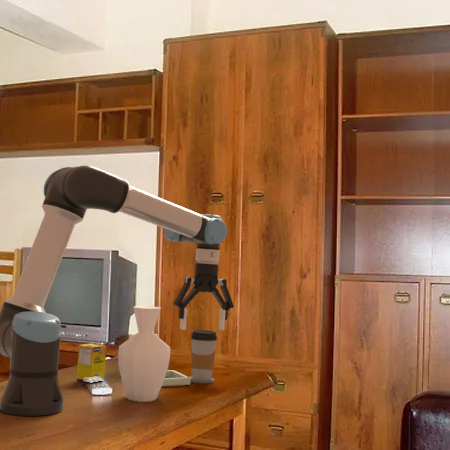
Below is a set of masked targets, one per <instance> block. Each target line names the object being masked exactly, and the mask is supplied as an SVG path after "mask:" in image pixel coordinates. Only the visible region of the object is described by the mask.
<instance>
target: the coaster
mask: <svg viewBox="0 0 450 450" xmlns="http://www.w3.org/2000/svg"><path fill="white" fill-rule="evenodd" d="M188 377H189V378H190V383H192V382H193V384H204V385H205V384H212V383H215V378H214V377H212V378H211V380H210V381H196V380H193V379H192V375H190V376H188Z"/></svg>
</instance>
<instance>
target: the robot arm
mask: <svg viewBox="0 0 450 450" xmlns="http://www.w3.org/2000/svg"><path fill="white" fill-rule="evenodd" d="M43 195H44V200H43V202H42V204H41V208H42V210H43V212H44V216H43V218H42V221H41V222H40V226H39V229H38V231H37V234H36V236H35V238H34V241H33V243H32V246H31V249H30V251H29V254H28V255H27V256H28V257H27V259H26V262H25V264H24V266H23V269H22V272H21V274H20V277H19V279H18V282H17V283H16V286H15V289H14V292H13V294H12V296H11V297H9V298H7V299H5V300H4V302H3V304H2V306H1V309H0V355H1V356H3V357H6V358H9V359H10V360H9V361H10V363H9V378H8V380H7V382H6V385H5V387H4V390H3V392H2V395H1V398H0V411H1V412H2V413H5V414H8V415H15V416H23V417H26V416H27V417H32V416H33V417H35V416H36V417H38V416H47V415H53V414H54V415H55V414H57V413H60V412H62V411H63V409H64V397H63V395H62V394H63V393H62V390H61V385H60V382H59V379H58V378H59V365H60V364H59V362H60V351H61V350H60V348H61V337H62V328H61V327H62V325H61V320H60V318H59V317H57V316H56V315H54V314H52V313H47V312H46V309H45V304H46V301H47V299H48V295H49V294H50V291H51V289H52V285H53V283H54V281H55V278H56V275H57V272H58V270H59V267H60V265H61V263H62V260H63V256H64V255H65V251H66V249H67V246H68V243H69V241H70V239H71V236H72V234H73V231H74V228H75V225H77V224H79V223H82V222H83V220H84V217H85V216H86V212H87V210H88V209H89V210H90V209H91V210H92V209H93V210H102V211H105V212H108V213H111V214H118V213H119V212H120V213H123V214H124V215H125V214H126V215H128V216H131V217H133V218H136V219H139V220H141V221H143V222H147V223H149V224H153V225H154V226H157V227H161V228H163V234H164V237H165V239H166V240H167V241H169V242H175V243H187V244H188V243H189V244H190V243H191V244H196V248H195V249H196V250H195V252H196V253H195V261H196V262H195V264H194V277H189V276H185V278H184V282H183V284H182V287H181V288H180V291H179V292H178V294H177V296H176V298H175V299H174V302H173V303H172V304H173V306H175V307H177V308H178V317H177V318H178V319H180V322H179V329H180V330H183V331H186V330H187V318H188V308H186V307H187V306H188V305H189V304H190V303H191V302H192V300H193V299H194V298H195V297H196V295H198V294H199V293H210V294H212V295H213V296H214V299H216V300H215V301H217V303H218V304H219V306H220V307H221V308H220V309H219V315H218V327H217V329H218V330H219V331H225V324H226V323H225V322H226V320H228V312H229V310H230V309H234V307H235V306H234V302H233V299H232V297H231V294H230V291H229V288H228V286H227V279H225V278H220V279H219V278H218V276H219V268H220V267H219V264H218V263H219V262H220V254H221V253H220V252H221V243H223V242H224V241H225V239H226V238H227V235H228V228H227V224H226V223H225V222H224V221H223V219H222V217H221V216H220V215H219V214H218V215H217V214H206V213H205V214H204V213H201V214H200V213H197V212H195V211H193V210H191V209H188V208H186V207H184V206H181V205H178V204H175V203H173V202H171V201H168V200H166V199H163V198H162V197H158V196H156V195H153V194H151V193H148V192H147V191H144V190H141V189H138V188H137V187H134V186H132V185H130V184H129V182H128V180H126V179H125V178H122V177H119V176H117V175H115V174H113V173H110V172H108V171H105V170H103V169H101V168H99V167H95V166H91V165H80V166H73V167H71V166H66V167H61V168H60V169H59V168H58V169H57V170H55V171H53V172H52V173H50V174H49V175H48V177H47V178H46V180H45V182H44V185H43ZM192 284H193V285H194V286H193V287H192V288H191V290H190V291H189V289H190V287H191V285H192ZM217 286H219V287H220V288H219V289H220V291H221V293H222V294H221V293H220V292H219V290H218V287H217ZM188 291H189V293H188ZM187 293H188V294H187ZM186 294H187V295H186Z"/></svg>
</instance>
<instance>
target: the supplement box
mask: <svg viewBox="0 0 450 450" xmlns="http://www.w3.org/2000/svg"><path fill="white" fill-rule="evenodd" d="M77 354H78V357H77V373H76V375H77V376H76V381H77V382H80V383H81V382H82V383H84V382H83V378H84V377H94V376H101V377H102V378H103V379H104V380H105V374H106V373H105V372H106V359H107V358H106V357H107V356H106V354H107V345H103V344H98V343H83V344H79V345H78V353H77Z"/></svg>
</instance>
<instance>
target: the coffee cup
mask: <svg viewBox="0 0 450 450" xmlns="http://www.w3.org/2000/svg"><path fill="white" fill-rule="evenodd" d="M190 339H191V340H190V341H191V342H190V343H191V344H190V345H191V348H190V351H191V352H190V354H191V355H190V363H191V366H190V367H191V368H190V369H191V376H192V379H193V380H196V381H210V380H211V378H213V371H214V365H215V355H216V346H217V341H218V336H217V332H216V331H212V330H204V329H200V330H199V329H197V330H192V334H191V336H190Z"/></svg>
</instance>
